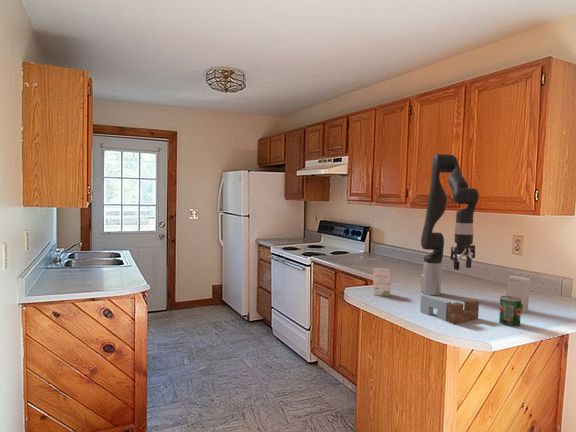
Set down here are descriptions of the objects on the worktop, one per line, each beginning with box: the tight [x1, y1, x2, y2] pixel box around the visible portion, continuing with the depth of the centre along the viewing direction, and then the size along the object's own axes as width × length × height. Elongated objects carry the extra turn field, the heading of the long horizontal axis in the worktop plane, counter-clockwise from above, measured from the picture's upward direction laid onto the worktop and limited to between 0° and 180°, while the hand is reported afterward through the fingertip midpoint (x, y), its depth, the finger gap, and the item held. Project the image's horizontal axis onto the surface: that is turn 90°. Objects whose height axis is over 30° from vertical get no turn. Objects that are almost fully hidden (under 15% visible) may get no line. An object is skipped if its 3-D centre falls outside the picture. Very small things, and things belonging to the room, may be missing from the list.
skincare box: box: [505, 275, 531, 314], centre depth 190 cm, size 8×7×16 cm
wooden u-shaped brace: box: [447, 298, 480, 325], centre depth 174 cm, size 3×16×8 cm, turn 119°
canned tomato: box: [498, 295, 522, 328], centre depth 170 cm, size 8×8×11 cm
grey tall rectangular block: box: [419, 294, 452, 322], centre depth 180 cm, size 14×3×8 cm, turn 29°
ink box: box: [372, 267, 391, 297], centre depth 215 cm, size 9×5×15 cm, turn 74°
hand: (462, 268), depth 181 cm, fingers open, 8 cm apart
